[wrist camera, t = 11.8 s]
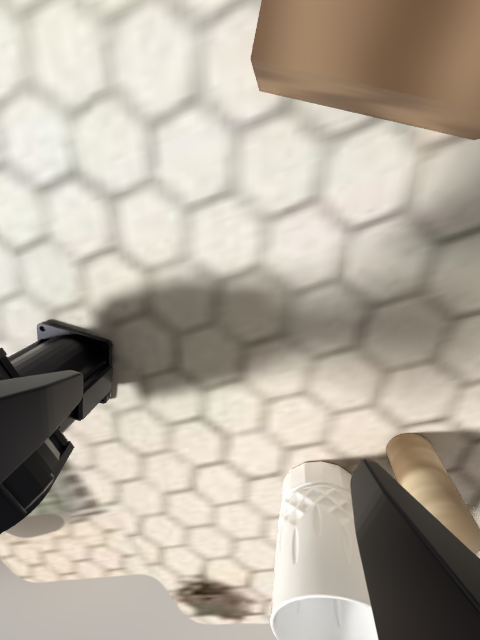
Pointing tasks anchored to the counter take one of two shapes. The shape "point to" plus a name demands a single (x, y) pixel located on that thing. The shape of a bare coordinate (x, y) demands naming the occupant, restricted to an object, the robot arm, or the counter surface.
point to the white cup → (319, 560)
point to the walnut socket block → (376, 58)
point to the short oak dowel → (432, 486)
